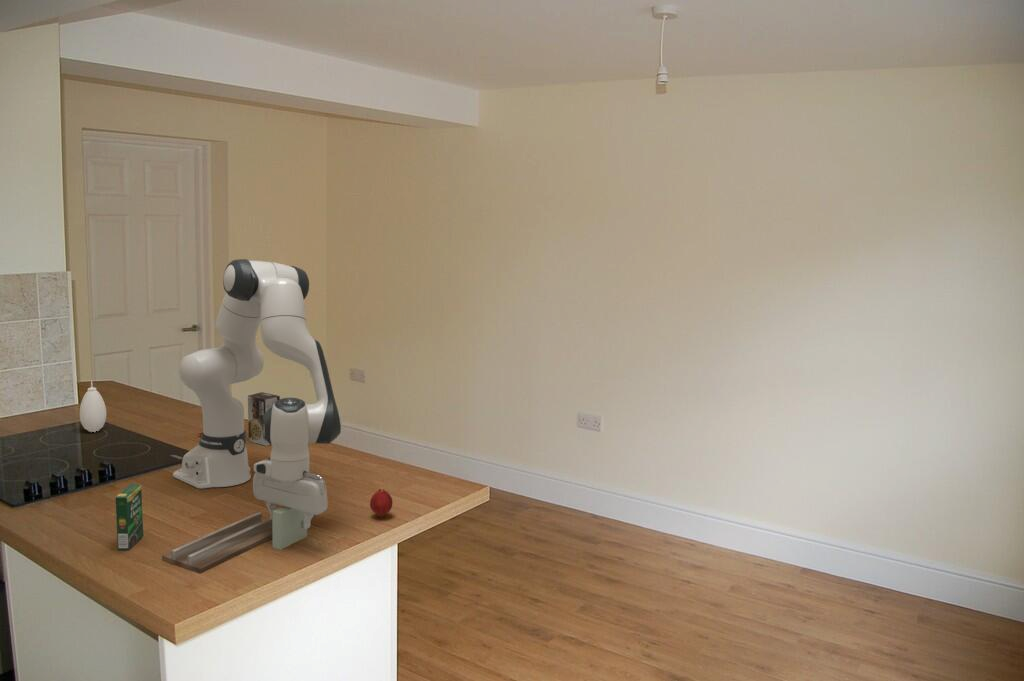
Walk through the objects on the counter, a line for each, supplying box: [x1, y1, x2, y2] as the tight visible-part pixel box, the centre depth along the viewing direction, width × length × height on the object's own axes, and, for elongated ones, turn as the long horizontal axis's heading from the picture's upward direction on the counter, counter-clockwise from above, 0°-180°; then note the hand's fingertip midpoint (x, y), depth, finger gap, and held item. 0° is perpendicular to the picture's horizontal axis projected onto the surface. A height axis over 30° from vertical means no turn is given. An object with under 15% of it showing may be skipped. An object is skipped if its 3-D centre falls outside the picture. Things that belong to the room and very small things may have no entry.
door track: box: [161, 511, 273, 574], centre depth 177 cm, size 12×26×3 cm, turn 154°
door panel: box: [272, 506, 308, 551], centre depth 180 cm, size 2×9×9 cm, turn 153°
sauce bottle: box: [79, 379, 107, 433], centre depth 257 cm, size 8×8×18 cm
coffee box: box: [247, 391, 281, 447], centre depth 255 cm, size 9×6×16 cm
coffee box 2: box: [115, 483, 144, 551], centre depth 175 cm, size 8×3×13 cm, turn 3°
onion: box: [369, 487, 393, 518], centre depth 197 cm, size 6×6×8 cm
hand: (290, 523), depth 180 cm, fingers open, 8 cm apart
